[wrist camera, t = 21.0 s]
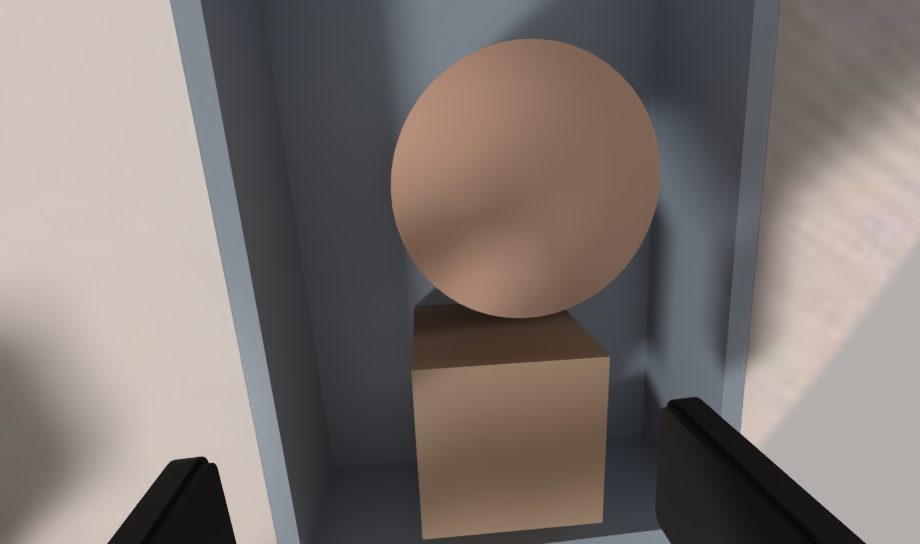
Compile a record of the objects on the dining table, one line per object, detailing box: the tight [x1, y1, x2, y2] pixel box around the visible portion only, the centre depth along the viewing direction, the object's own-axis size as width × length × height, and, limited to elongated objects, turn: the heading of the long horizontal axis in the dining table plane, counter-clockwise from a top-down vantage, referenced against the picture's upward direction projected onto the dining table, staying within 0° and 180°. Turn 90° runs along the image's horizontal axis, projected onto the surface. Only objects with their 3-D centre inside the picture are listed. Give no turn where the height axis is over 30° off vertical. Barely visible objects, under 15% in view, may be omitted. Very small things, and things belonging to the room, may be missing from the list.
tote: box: [170, 0, 780, 544], centre depth 14 cm, size 19×13×5 cm
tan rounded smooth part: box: [391, 39, 660, 318], centre depth 12 cm, size 5×5×7 cm
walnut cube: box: [411, 304, 610, 540], centre depth 15 cm, size 5×5×5 cm
